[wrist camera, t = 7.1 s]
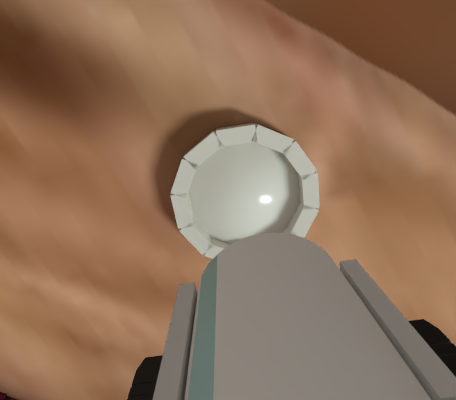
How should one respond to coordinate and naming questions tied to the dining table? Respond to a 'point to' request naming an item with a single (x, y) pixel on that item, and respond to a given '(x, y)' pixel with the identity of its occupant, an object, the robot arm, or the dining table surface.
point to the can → (288, 330)
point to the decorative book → (3, 396)
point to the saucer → (243, 188)
